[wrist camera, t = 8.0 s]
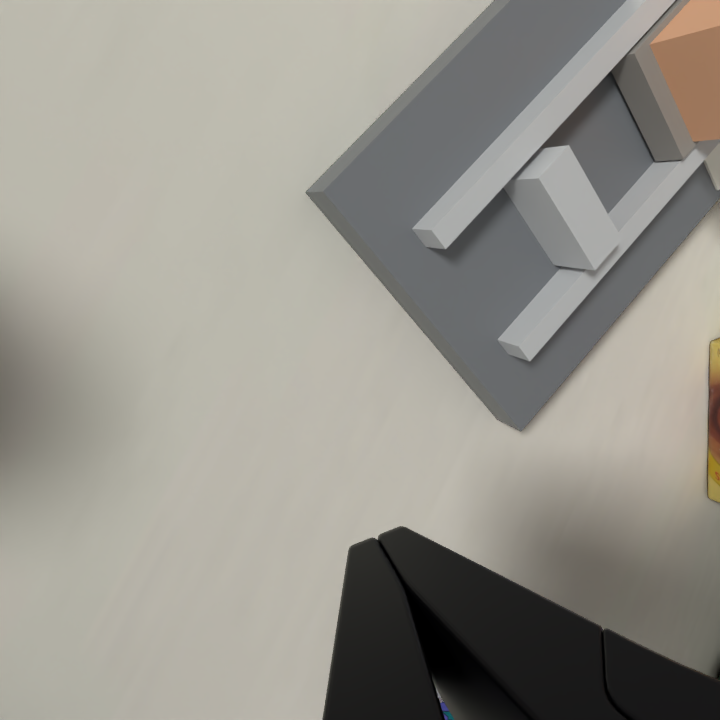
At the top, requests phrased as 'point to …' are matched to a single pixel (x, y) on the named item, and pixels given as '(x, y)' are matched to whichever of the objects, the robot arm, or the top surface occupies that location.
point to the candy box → (714, 422)
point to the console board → (519, 195)
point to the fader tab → (675, 79)
